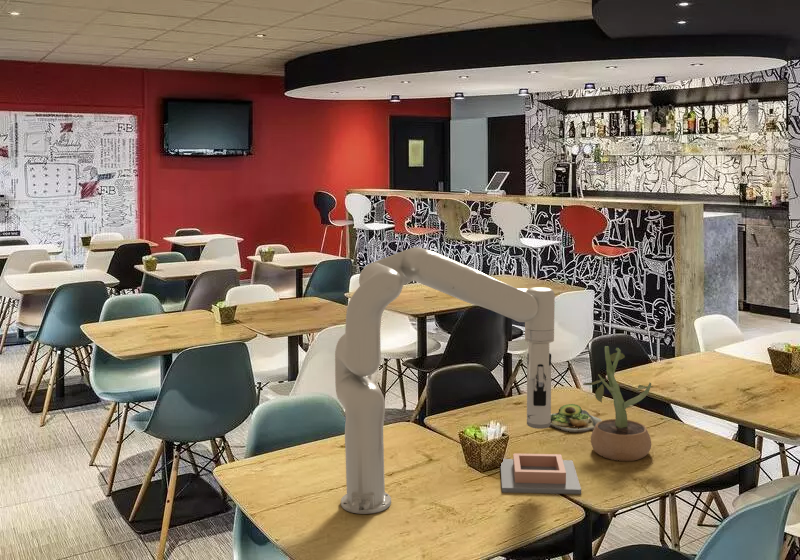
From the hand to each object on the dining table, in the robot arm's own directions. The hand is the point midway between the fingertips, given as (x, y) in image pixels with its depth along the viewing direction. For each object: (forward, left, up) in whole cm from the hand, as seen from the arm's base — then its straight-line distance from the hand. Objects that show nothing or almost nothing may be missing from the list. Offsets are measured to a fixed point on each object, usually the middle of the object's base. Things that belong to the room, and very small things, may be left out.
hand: (538, 400), depth 207 cm
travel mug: (0, 0, -7) cm, 7 cm away
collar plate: (0, 0, -21) cm, 21 cm away
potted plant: (+23, -24, -22) cm, 40 cm away
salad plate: (+46, -14, -22) cm, 53 cm away
